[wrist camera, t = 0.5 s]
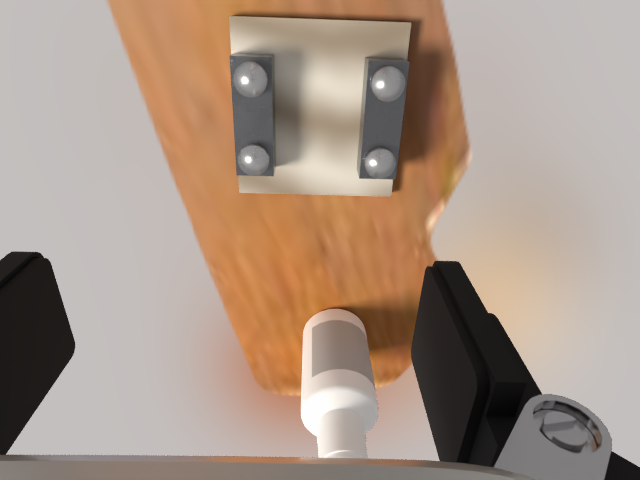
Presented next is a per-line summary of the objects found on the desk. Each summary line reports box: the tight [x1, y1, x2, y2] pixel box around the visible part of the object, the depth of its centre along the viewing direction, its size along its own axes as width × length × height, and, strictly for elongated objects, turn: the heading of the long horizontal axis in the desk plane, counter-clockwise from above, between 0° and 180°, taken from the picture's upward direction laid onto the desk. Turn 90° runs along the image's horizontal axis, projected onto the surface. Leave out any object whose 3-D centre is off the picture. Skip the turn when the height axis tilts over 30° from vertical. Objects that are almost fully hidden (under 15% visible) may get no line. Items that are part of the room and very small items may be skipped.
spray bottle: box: [301, 309, 378, 459], centre depth 40 cm, size 7×7×18 cm
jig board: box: [229, 16, 411, 196], centre depth 36 cm, size 14×14×1 cm
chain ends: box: [230, 53, 410, 180], centre depth 34 cm, size 9×13×3 cm
